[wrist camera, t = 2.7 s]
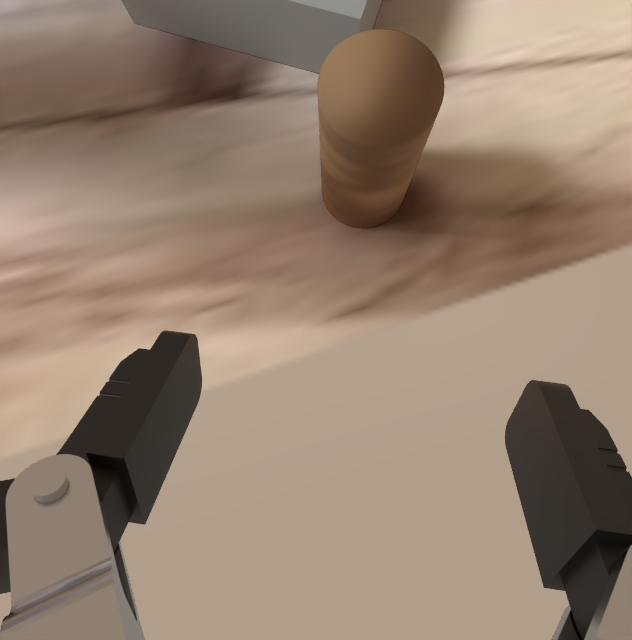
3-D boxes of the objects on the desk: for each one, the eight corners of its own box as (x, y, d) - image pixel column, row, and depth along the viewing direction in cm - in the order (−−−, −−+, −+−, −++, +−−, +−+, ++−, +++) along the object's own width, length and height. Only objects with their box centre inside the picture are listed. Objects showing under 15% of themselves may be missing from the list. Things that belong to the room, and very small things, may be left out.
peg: (311, 214, 27) (301, 126, 18) (336, 140, 28) (338, 16, 18) (391, 238, 27) (424, 160, 17) (414, 162, 27) (458, 46, 18)
